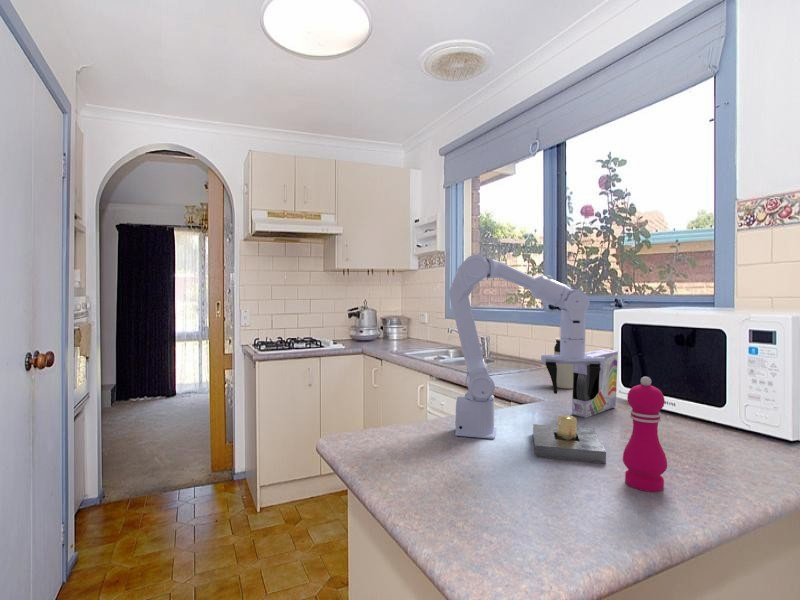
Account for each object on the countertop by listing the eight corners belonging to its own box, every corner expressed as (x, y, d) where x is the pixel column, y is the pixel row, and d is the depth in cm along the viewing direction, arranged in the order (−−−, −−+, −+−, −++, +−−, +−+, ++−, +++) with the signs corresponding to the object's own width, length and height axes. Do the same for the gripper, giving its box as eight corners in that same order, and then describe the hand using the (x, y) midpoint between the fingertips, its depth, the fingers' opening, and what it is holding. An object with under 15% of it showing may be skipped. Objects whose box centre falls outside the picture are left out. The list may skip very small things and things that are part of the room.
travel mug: (580, 389, 164) (580, 339, 164) (558, 389, 165) (558, 339, 164) (572, 384, 172) (572, 337, 172) (551, 384, 173) (551, 337, 172)
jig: (535, 456, 97) (535, 445, 97) (533, 434, 113) (533, 424, 113) (605, 463, 94) (606, 451, 94) (593, 439, 109) (593, 428, 109)
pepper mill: (662, 479, 86) (664, 374, 86) (671, 495, 79) (673, 381, 79) (619, 474, 88) (621, 372, 88) (625, 489, 82) (627, 378, 81)
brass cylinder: (556, 449, 102) (557, 418, 102) (557, 444, 106) (558, 414, 105) (575, 452, 100) (576, 421, 100) (576, 446, 104) (577, 416, 104)
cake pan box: (585, 419, 126) (586, 355, 126) (568, 415, 130) (569, 353, 130) (618, 408, 138) (619, 350, 138) (602, 405, 142) (603, 348, 142)
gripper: (542, 339, 109) (541, 395, 109) (607, 341, 105) (606, 399, 106) (541, 336, 116) (540, 389, 116) (602, 338, 112) (601, 393, 112)
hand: (571, 393), depth 111 cm, fingers open, 7 cm apart
